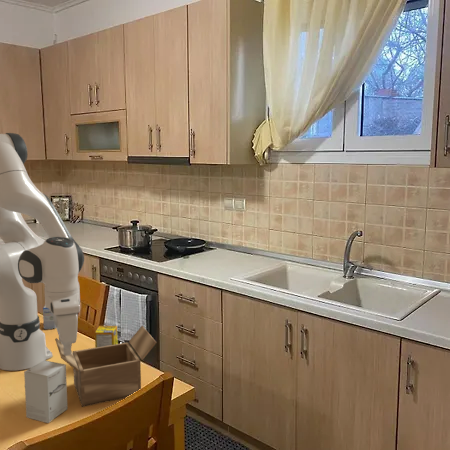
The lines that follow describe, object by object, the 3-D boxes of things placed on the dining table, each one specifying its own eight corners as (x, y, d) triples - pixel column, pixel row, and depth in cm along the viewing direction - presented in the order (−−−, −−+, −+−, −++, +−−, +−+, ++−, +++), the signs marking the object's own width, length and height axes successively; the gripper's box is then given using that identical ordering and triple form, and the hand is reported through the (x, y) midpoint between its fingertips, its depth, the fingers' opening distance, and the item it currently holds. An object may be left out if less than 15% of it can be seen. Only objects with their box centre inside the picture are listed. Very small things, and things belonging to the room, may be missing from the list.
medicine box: (47, 322, 189) (46, 301, 188) (59, 321, 190) (58, 300, 189) (43, 329, 182) (42, 307, 180) (55, 329, 183) (54, 307, 181)
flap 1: (71, 350, 138) (70, 352, 138) (56, 337, 136) (55, 339, 136) (79, 370, 126) (77, 371, 126) (62, 356, 124) (61, 358, 124)
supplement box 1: (48, 424, 120) (46, 376, 118) (25, 417, 122) (22, 370, 120) (68, 409, 126) (66, 363, 124) (46, 403, 129) (44, 359, 127)
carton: (74, 383, 140) (72, 351, 139) (128, 373, 147) (127, 342, 145) (81, 407, 128) (80, 371, 126) (141, 394, 134) (140, 360, 133)
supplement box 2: (118, 357, 158) (117, 325, 157) (114, 365, 153) (113, 332, 151) (100, 357, 158) (99, 325, 157) (95, 365, 152) (94, 332, 151)
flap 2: (141, 325, 146) (143, 326, 146) (128, 341, 145) (130, 342, 145) (155, 341, 134) (156, 342, 134) (141, 359, 133) (142, 360, 133)
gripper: (46, 289, 136) (48, 336, 138) (54, 311, 118) (56, 364, 120) (69, 287, 139) (71, 333, 141) (80, 308, 121) (83, 360, 123)
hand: (64, 347), depth 130 cm, fingers open, 8 cm apart
